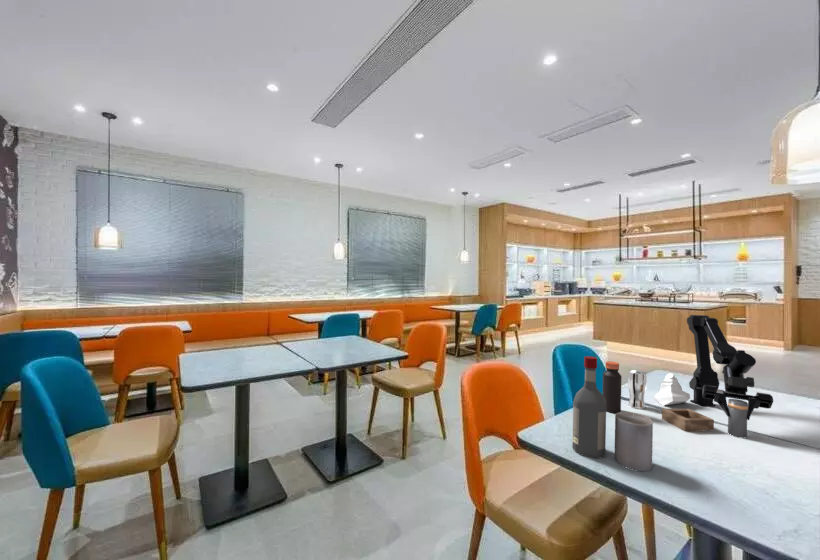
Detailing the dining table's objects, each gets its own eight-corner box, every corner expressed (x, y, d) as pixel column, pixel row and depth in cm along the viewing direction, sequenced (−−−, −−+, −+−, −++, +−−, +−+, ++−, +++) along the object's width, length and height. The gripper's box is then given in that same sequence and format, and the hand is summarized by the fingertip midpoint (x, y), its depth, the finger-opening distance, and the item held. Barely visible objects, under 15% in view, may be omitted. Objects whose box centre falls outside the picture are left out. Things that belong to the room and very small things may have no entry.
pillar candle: (617, 451, 114) (618, 405, 114) (654, 462, 108) (655, 412, 108) (611, 464, 107) (612, 414, 106) (650, 476, 100) (651, 423, 100)
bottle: (616, 407, 153) (617, 361, 152) (624, 413, 146) (625, 365, 145) (599, 407, 153) (600, 360, 153) (606, 413, 146) (607, 364, 146)
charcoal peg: (723, 431, 130) (724, 399, 130) (736, 431, 130) (737, 398, 130) (737, 438, 125) (738, 404, 125) (751, 437, 125) (751, 403, 125)
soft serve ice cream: (646, 404, 161) (641, 372, 165) (670, 404, 166) (665, 372, 169) (674, 407, 150) (668, 372, 153) (699, 406, 154) (693, 372, 158)
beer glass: (645, 410, 149) (646, 375, 149) (626, 406, 154) (627, 372, 153) (647, 406, 155) (647, 371, 155) (628, 402, 159) (629, 368, 159)
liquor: (605, 448, 116) (607, 356, 116) (604, 460, 108) (606, 362, 108) (574, 441, 121) (576, 353, 120) (571, 452, 113) (573, 358, 113)
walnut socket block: (661, 419, 141) (662, 408, 141) (688, 418, 142) (688, 408, 142) (685, 431, 130) (685, 420, 130) (713, 430, 131) (713, 419, 131)
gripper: (703, 363, 136) (705, 400, 127) (772, 371, 125) (780, 412, 116) (701, 379, 142) (703, 415, 133) (766, 388, 131) (773, 428, 123)
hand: (738, 417), depth 126 cm, fingers closed on charcoal peg, 5 cm apart
